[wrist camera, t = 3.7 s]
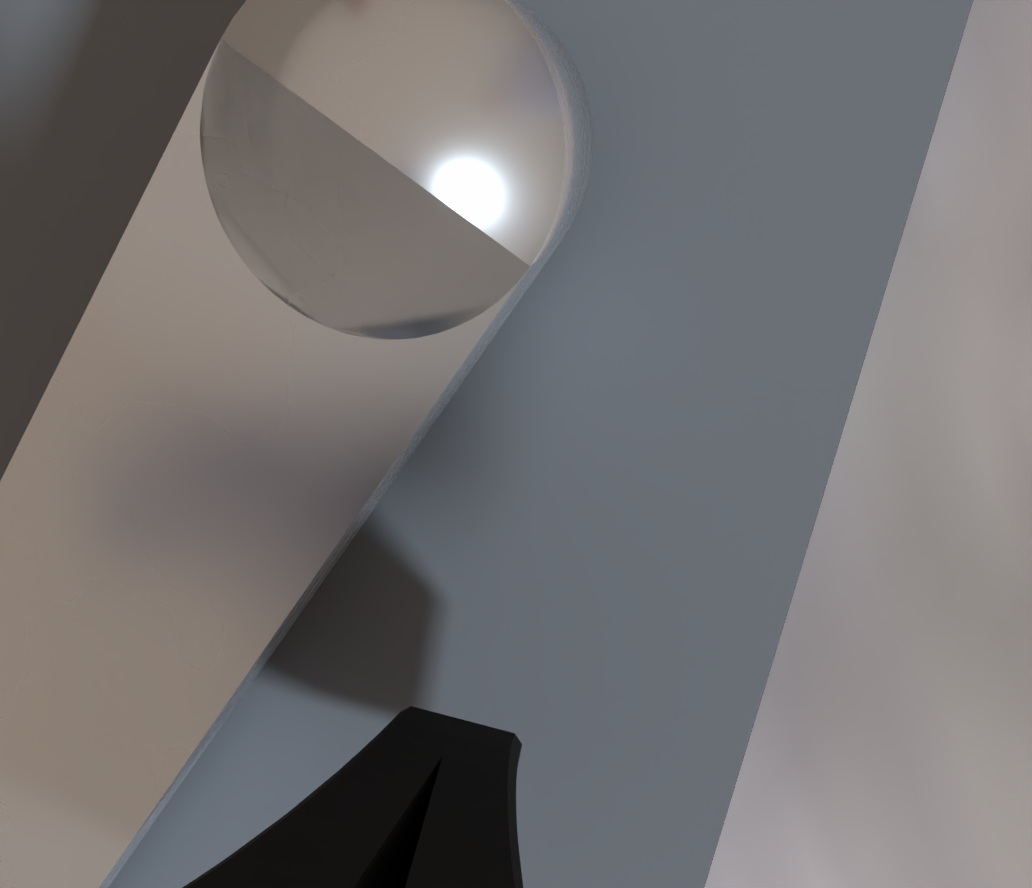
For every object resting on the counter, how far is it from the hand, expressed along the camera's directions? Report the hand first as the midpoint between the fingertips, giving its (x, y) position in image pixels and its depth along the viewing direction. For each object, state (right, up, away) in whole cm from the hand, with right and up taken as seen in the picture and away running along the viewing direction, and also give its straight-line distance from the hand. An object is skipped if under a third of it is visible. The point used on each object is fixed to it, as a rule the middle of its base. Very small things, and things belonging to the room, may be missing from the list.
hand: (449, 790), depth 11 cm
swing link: (-5, 0, +2) cm, 5 cm away
